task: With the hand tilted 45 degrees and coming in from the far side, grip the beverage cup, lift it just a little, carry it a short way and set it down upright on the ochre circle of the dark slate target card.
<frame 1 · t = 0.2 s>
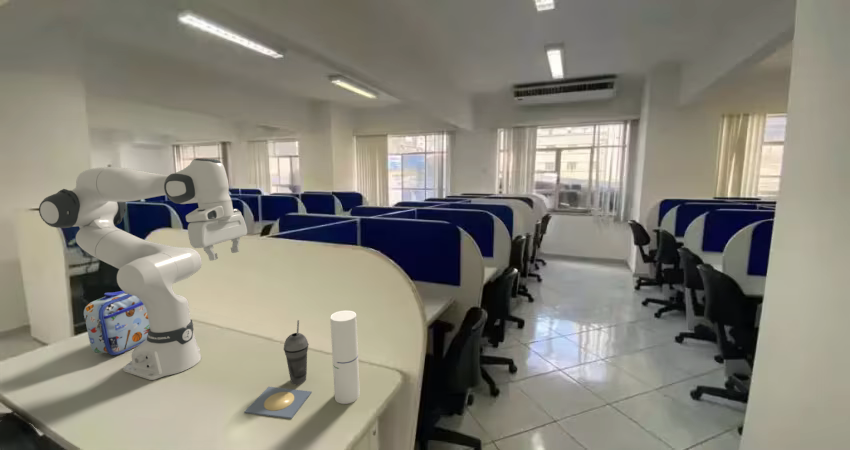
hand: (225, 256, 109), 39 cm above the table, tool pointing down, fingers open, 8 cm apart
beverage cup: (298, 380, 110), on the table
cylindrical container: (347, 396, 103), on the table
lunch box: (135, 343, 134), on the table
target card: (279, 402, 100), on the table
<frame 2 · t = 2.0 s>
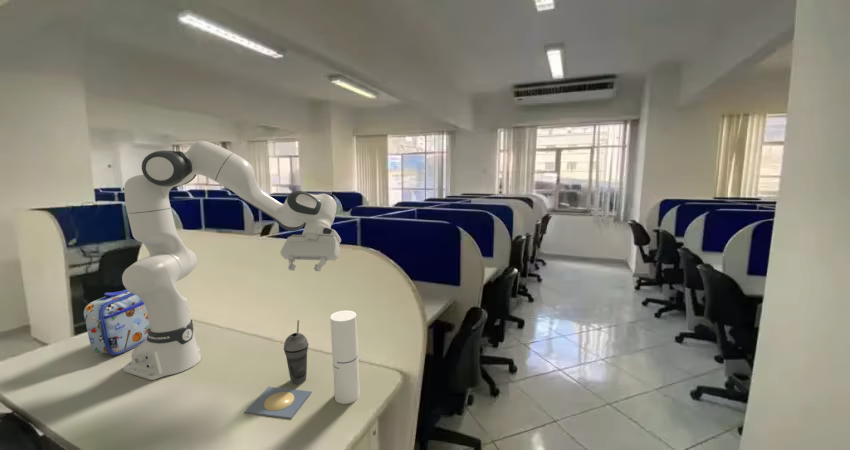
hand: (303, 270, 116), 32 cm above the table, tool tilted 45°, fingers open, 8 cm apart
nothing on the table moved.
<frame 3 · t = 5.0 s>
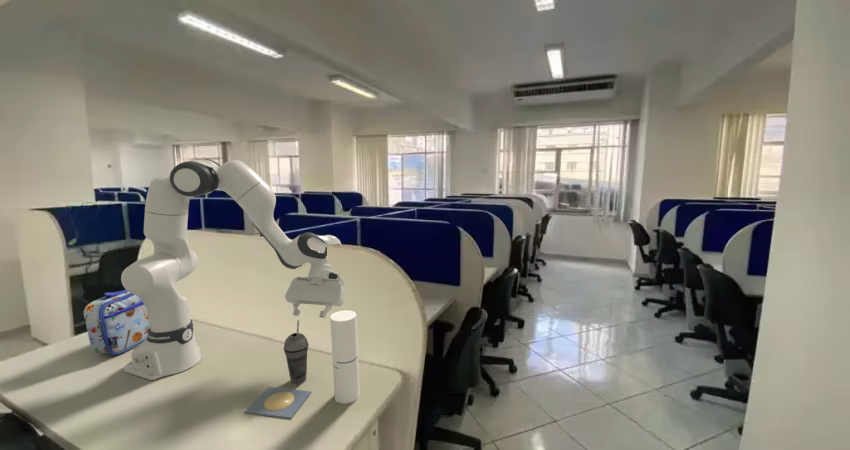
hand: (308, 316, 116), 17 cm above the table, tool tilted 45°, fingers open, 8 cm apart
nothing on the table moved.
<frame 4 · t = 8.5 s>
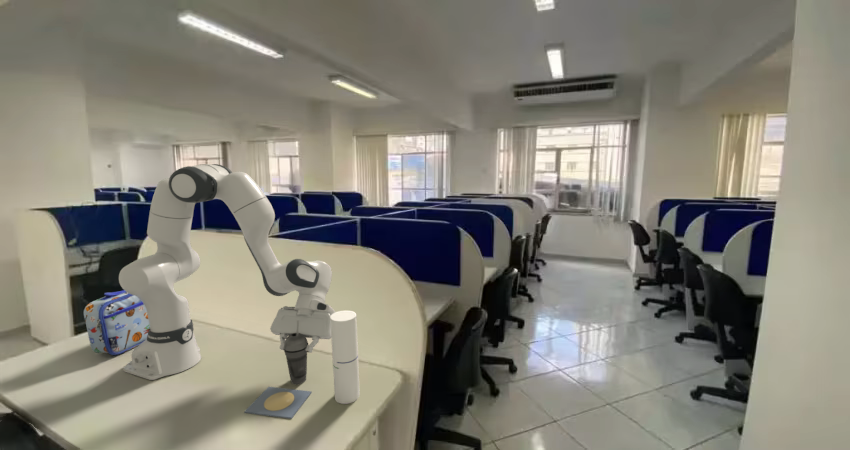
hand: (295, 350, 108), 10 cm above the table, tool tilted 45°, fingers closed on beverage cup, 7 cm apart
beverage cup: (298, 380, 110), on the table, touching gripper
everything else where it was.
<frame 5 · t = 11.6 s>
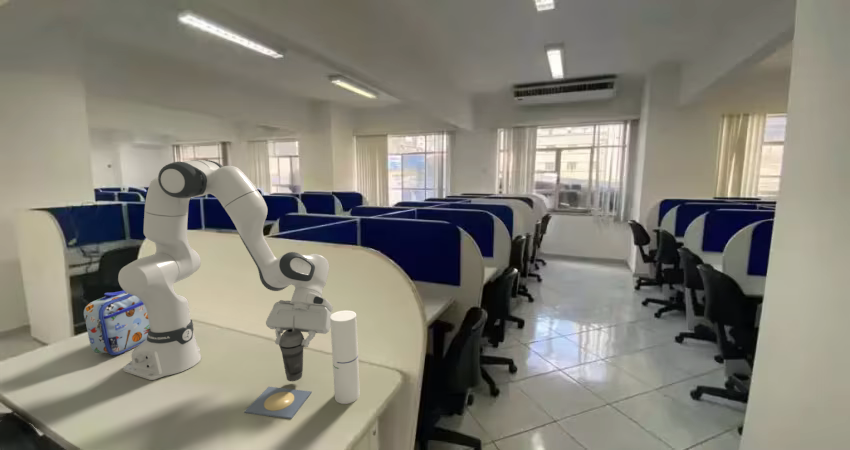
hand: (291, 345, 106), 13 cm above the table, tool tilted 45°, fingers closed on beverage cup, 7 cm apart
beverage cup: (294, 377, 108), point 2 cm above the table, touching gripper
everything else where it was.
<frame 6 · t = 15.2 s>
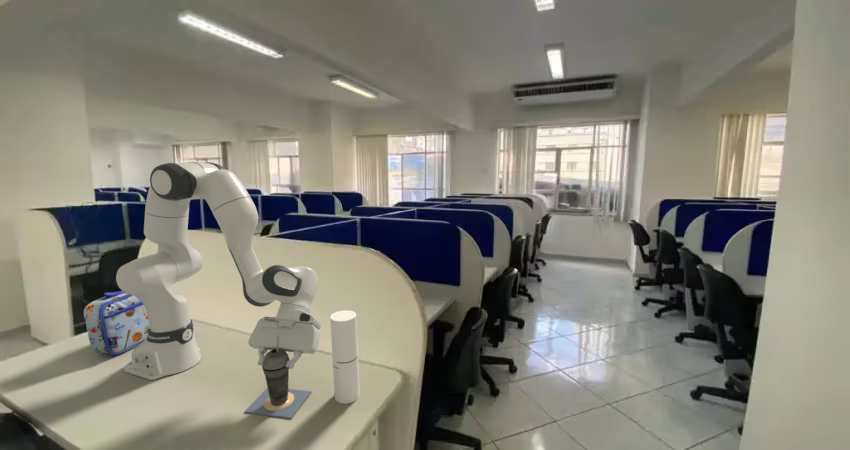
hand: (275, 366, 98), 12 cm above the table, tool tilted 45°, fingers closed on beverage cup, 7 cm apart
beverage cup: (279, 401, 100), resting on target card, touching gripper
everything else where it was.
when the fingers open (11 cm above the table, at t = 16.3 s): beverage cup stays where it is, resting on target card.
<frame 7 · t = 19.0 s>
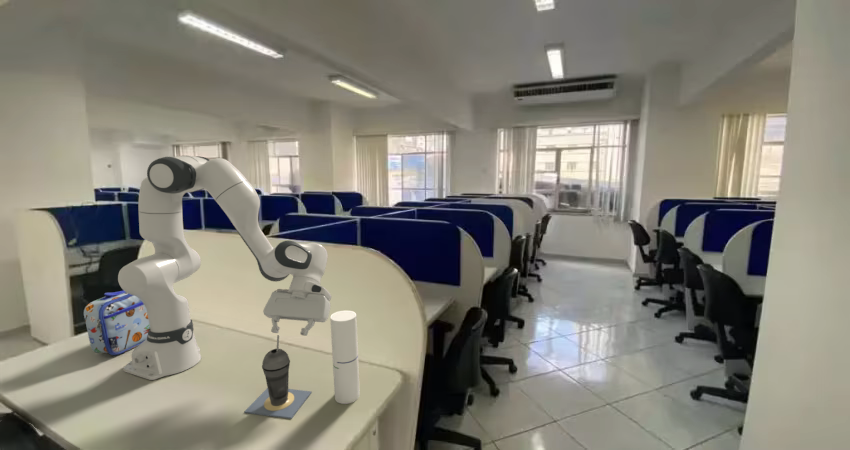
hand: (288, 333, 104), 17 cm above the table, tool tilted 45°, fingers open, 8 cm apart
beverage cup: (279, 401, 100), resting on target card
everything else where it was.
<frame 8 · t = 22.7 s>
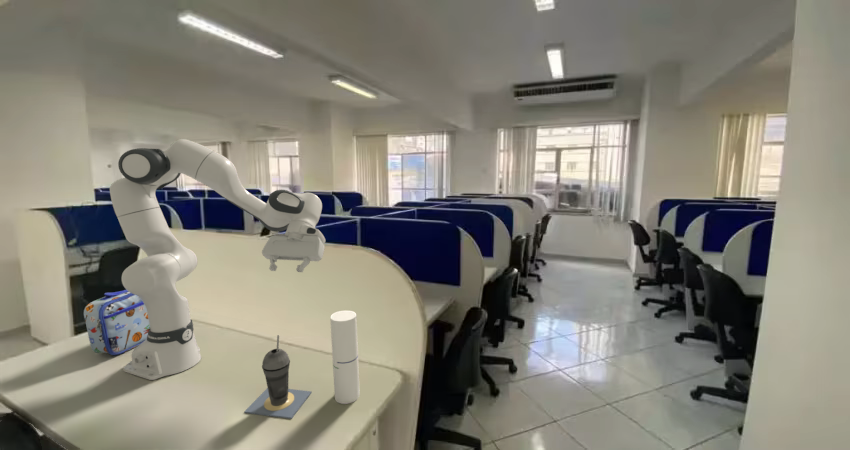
hand: (285, 270, 112), 33 cm above the table, tool tilted 45°, fingers open, 8 cm apart
nothing on the table moved.
at the end: beverage cup inside the target area on the target card (0.0 cm from its centre), point 0.3 cm above the target card's base; beverage cup tilted 0°; the gripper is holding nothing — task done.
